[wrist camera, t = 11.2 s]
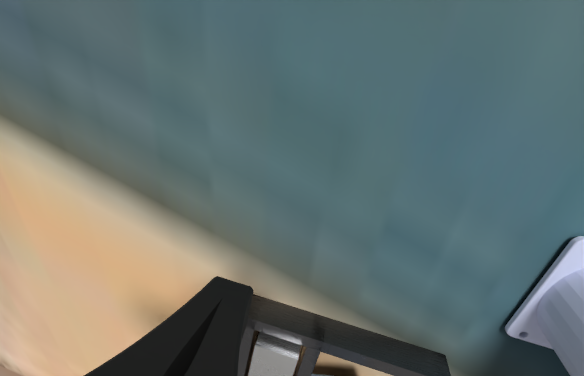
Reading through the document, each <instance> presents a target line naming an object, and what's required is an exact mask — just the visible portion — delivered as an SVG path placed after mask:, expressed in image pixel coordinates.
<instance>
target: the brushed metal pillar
mask: <svg viewBox="0 0 584 376" xmlns="http://www.w3.org/2000/svg"><path fill="white" fill-rule="evenodd" d="M311 376H332V375H320V374H311Z"/></svg>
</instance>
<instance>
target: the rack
mask: <svg viewBox="0 0 584 376" xmlns="http://www.w3.org/2000/svg"><path fill="white" fill-rule="evenodd" d="M257 331H260V333H259V335H258V338H257V341H256V344H255V339H256V335H257ZM254 344H255V348H254ZM301 345H302V346H303V349H302V352H301V355H300V357H299V353H300V348H301ZM253 348H254V352H253ZM320 351H321V352H324V353H327V354H330V355H333V356H336V357H339V358H342V359H345V360H348V361H351V362H354V363H357V364H360V365H363V366H366V367H369V368H372V369H375V370H378V371H382V372H385V373H388V374H391V375H394V376H451V375H450V371H449V367H448V364H447V360H446V356H445V355H443V354H440V353H437V352H434V351H430V350H427V349H424V348H421V347H418V346H415V345H412V344H408V343H405V342H402V341H399V340H396V339H393V338H389V337H386V336H383V335H380V334H377V333H374V332H370V331H367V330H364V329H361V328H358V327H355V326H352V325H348V324H345V323H342V322H339V321H336V320H333V319H329V318H326V317H323V316H320V315H317V314H314V313H310V312H307V311H304V310H301V309H298V308H295V307H292V306H288V305H285V304H282V303H279V302H276V301H273V300H269V299H266V298H263V297H260V296H257V295H254V294H253V295H252V300H251V305H250V310H249V315H248V320H247V325H246V329H245V332H244V335H243V338H242V341H241V345H240V350H239V361H238V375H237V376H247V375H248V376H311V374H312V372H313V369H314V367H315V364H316V362H317V359H318V356H319V354H320ZM252 353H253V356H252ZM251 357H252V361H251ZM298 357H299V360H298ZM297 361H298V363H297ZM250 362H251V365H250ZM296 364H297V366H296ZM249 366H250V370H249ZM295 367H296V369H295ZM248 370H249V374H248ZM294 370H295V372H294ZM293 373H294V375H293Z"/></svg>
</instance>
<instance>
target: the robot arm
mask: <svg viewBox="0 0 584 376" xmlns="http://www.w3.org/2000/svg"><path fill="white" fill-rule="evenodd" d="M252 295H253V289H252V288H251V287H250V286H247V285H243V284H240V283H237V282H234V281H231V280H227V279H224V278H221V277H218V276H217V277H215V278H213V279H212V280H211V281H210V282H209V283H208V284H207V285H206V286H205V287H204V288H203V289H202V290H201V291H200V292H198V293H197V294H196V295H195V296H194V297H193V298H192V299H190V300H189V301H188V302H187V303H186V304H185V305H183V306H182V307H181V308H180V309H179V310H177V311H176V312H175V313H174V314H172V315H171V316H170V317H169V318H168V319H166V320H165V321H164V322H162V323H161V324H160V325H159V326H157V327H156V328H154V329H153V330H152V331H150V332H149V333H148V334H146V335H145V336H144V337H142V338H141V339H140V340H138V341H137V342H135V343H134V344H133V345H131V346H130V347H128V348H127V349H125V350H124V351H122V352H121V353H119V354H118V355H116V356H115V357H113V358H112V359H110V360H109V361H107V362H105V363H104V364H102V365H101V366H99V367H98V368H96V369H94V370H93V371H91V372H89V373H88V374H86V375H84V376H237V375H238V361H239V350H240V345H241V341H242V338H243V335H244V332H245V329H246V325H247V320H248V315H249V310H250V305H251V300H252ZM505 330H506V332H507V334H508V335H509V336H511V337H514V338H517V339H521V340H524V341H527V342H531V343H534V344H537V345H540V346H544V347H547V348H550V349H554V351H555V352H556V354H557V356H558V357H559V359H560V360H561V362H562V363H563V365H564V367H565V368H566V370H567V371H568V373H569V375H570V376H584V236H579V237H576V238H573V239H572V240H571V241H570V242H569V243H568V245H567V246H566V247H565V249H564V250H563V251H562V253H561V254H560V255H559V257H558V258H557V259H556V260H555V262H554V263H553V264H552V266H551V267H550V268H549V270H548V271H547V272H546V274H545V275H544V276H543V277H542V279H541V280H540V281H539V283H538V284H537V285H536V287H535V288H534V289H533V290H532V292H531V293H530V294H529V296H528V297H527V298H526V300H525V301H524V302H523V304H522V305H521V306H520V307H519V309H518V310H517V311H516V313H515V314H514V315H513V317H512V318H511V319H510V320H509V322H508V323H507V324H506V326H505Z"/></svg>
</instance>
